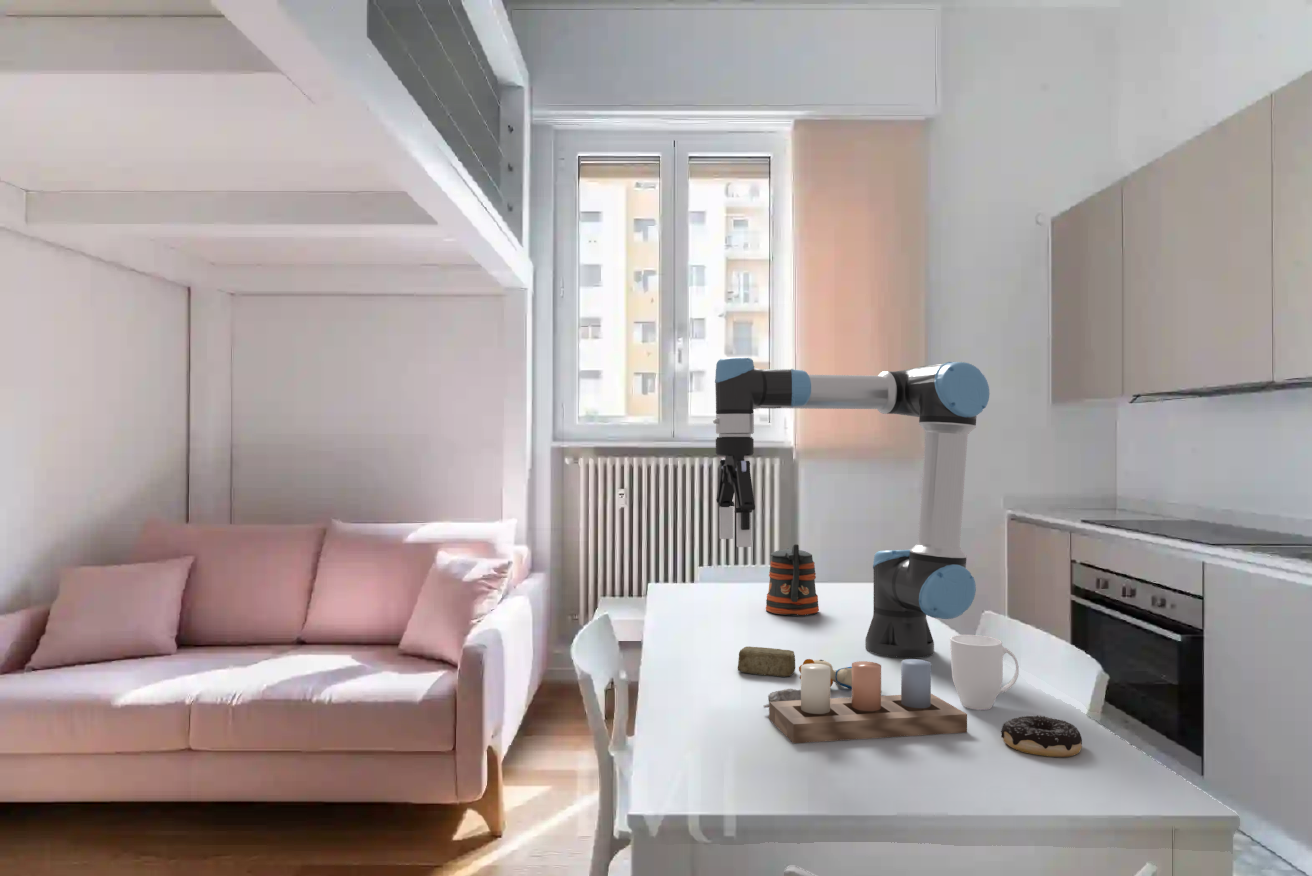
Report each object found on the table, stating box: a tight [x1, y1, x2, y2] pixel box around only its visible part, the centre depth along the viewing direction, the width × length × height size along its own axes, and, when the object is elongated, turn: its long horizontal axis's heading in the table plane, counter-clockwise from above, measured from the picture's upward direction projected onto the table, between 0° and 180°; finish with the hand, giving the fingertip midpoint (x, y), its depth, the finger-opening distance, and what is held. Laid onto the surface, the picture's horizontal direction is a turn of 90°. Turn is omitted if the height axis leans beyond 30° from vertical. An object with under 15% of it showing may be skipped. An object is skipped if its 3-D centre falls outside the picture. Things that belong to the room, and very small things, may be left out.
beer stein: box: [765, 543, 820, 617], centre depth 242 cm, size 19×15×20 cm
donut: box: [1000, 715, 1083, 758], centre depth 138 cm, size 11×12×4 cm
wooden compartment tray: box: [768, 693, 968, 744], centre depth 147 cm, size 30×12×3 cm, turn 101°
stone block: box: [737, 646, 796, 678], centre depth 180 cm, size 6×12×5 cm, turn 71°
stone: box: [763, 688, 801, 709], centre depth 158 cm, size 6×12×4 cm, turn 133°
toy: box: [798, 658, 852, 691], centre depth 168 cm, size 12×6×15 cm
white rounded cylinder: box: [800, 664, 831, 714], centre depth 145 cm, size 5×5×7 cm
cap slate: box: [900, 658, 932, 708], centre depth 149 cm, size 5×5×7 cm
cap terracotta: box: [851, 660, 882, 711], centre depth 147 cm, size 5×5×7 cm
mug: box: [949, 634, 1020, 711], centre depth 159 cm, size 12×9×12 cm
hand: (734, 542), depth 174 cm, fingers open, 13 cm apart
